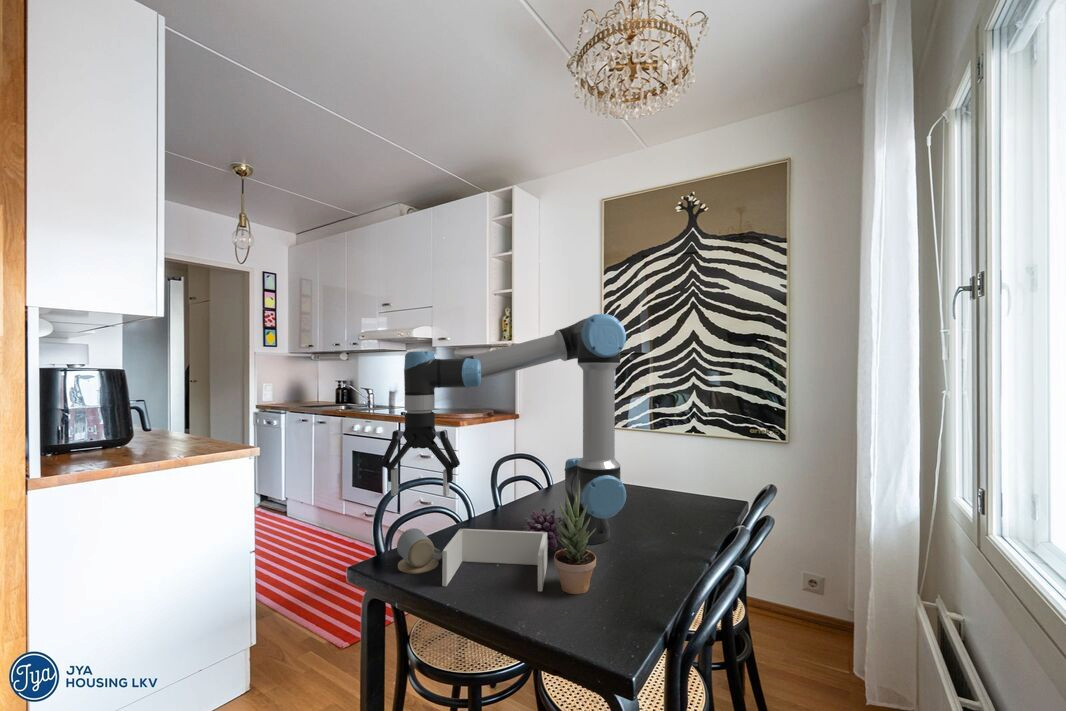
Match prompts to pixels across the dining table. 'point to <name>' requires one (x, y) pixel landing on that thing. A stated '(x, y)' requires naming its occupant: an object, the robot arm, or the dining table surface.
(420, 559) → the ceramic mug
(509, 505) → the dining table surface
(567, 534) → the potted plant
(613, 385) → the robot arm
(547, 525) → the purple round cluster
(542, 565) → the white u-shaped wall
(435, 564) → the coaster
